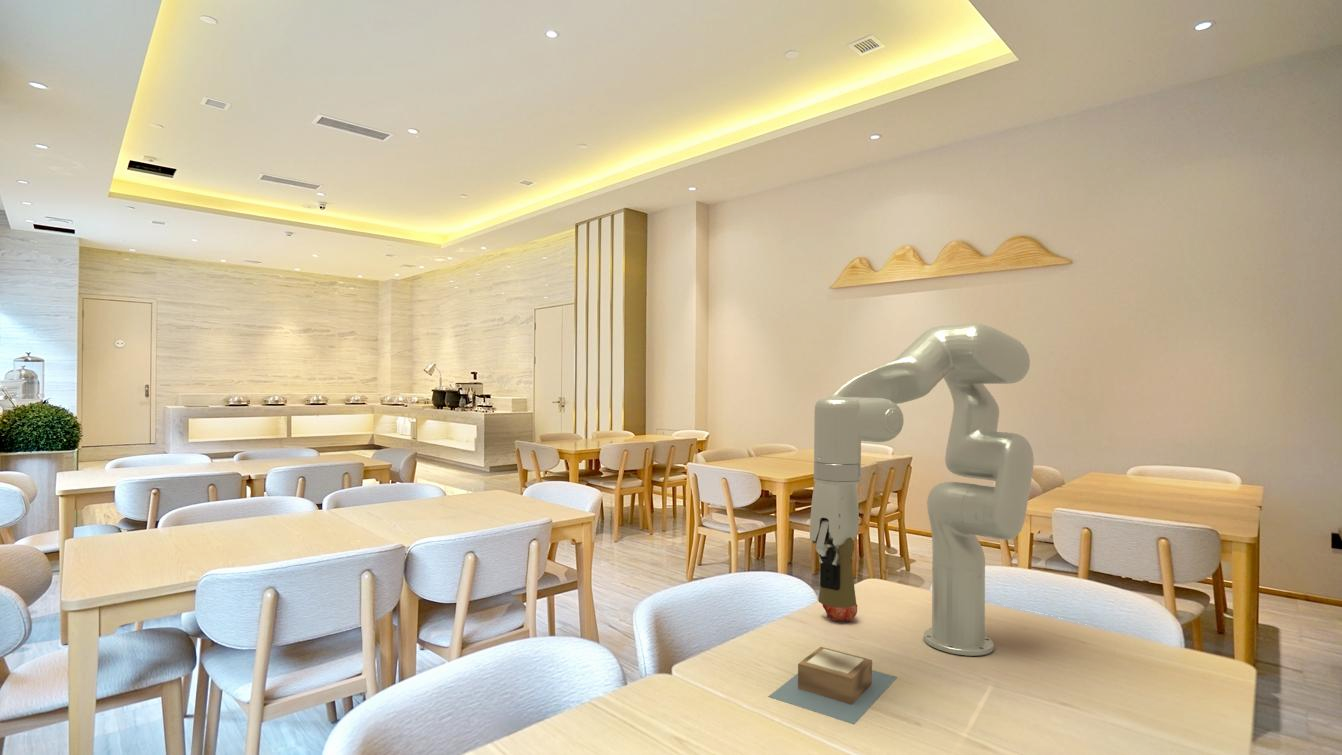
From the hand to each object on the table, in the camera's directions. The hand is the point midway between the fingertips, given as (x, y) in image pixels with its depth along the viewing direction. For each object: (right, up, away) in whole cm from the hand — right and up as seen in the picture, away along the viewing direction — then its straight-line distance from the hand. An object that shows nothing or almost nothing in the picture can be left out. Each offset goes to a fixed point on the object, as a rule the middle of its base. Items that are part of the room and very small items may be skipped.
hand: (835, 583), depth 108 cm
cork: (0, -3, 0) cm, 3 cm away
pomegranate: (+9, -19, +35) cm, 41 cm away
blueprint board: (0, -18, 0) cm, 18 cm away
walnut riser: (0, -17, 0) cm, 17 cm away
